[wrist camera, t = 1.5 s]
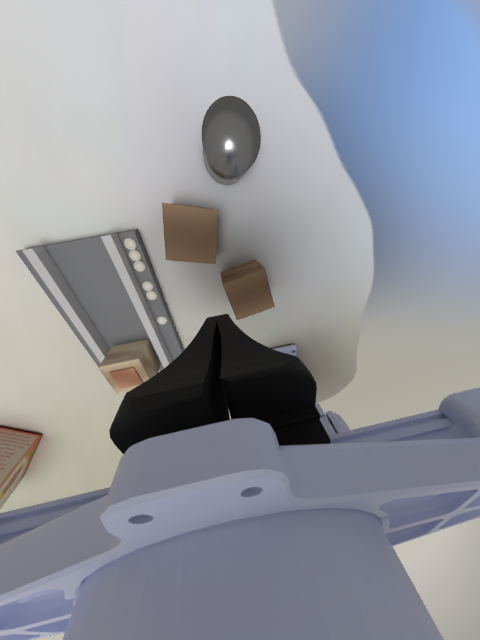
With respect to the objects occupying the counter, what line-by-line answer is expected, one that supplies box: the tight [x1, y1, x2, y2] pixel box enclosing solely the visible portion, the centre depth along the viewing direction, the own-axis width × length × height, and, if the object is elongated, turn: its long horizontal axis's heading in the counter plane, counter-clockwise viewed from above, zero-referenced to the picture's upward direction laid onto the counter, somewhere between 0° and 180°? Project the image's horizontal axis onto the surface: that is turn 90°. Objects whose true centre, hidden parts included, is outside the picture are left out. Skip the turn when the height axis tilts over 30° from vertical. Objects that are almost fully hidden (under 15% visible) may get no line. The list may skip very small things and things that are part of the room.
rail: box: [16, 230, 184, 370], centre depth 20 cm, size 16×10×2 cm, turn 8°
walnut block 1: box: [162, 203, 218, 264], centre depth 17 cm, size 4×4×4 cm
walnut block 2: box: [221, 260, 275, 320], centre depth 20 cm, size 4×4×4 cm
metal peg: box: [202, 96, 261, 185], centre depth 14 cm, size 4×4×5 cm
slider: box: [98, 339, 161, 394], centre depth 21 cm, size 4×4×4 cm
